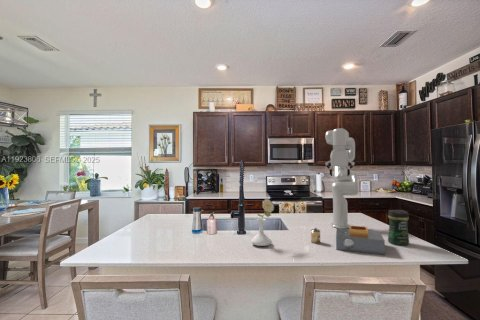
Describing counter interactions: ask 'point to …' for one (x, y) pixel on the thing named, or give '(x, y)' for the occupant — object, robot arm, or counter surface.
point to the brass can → (315, 236)
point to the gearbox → (360, 240)
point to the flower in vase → (261, 237)
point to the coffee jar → (398, 227)
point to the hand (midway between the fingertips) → (339, 176)
